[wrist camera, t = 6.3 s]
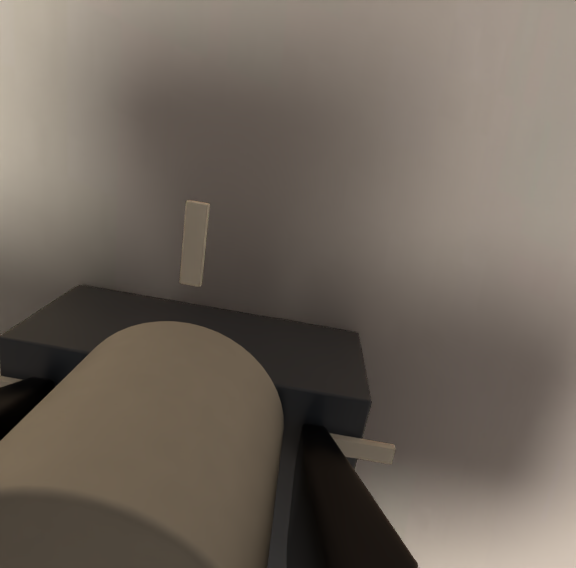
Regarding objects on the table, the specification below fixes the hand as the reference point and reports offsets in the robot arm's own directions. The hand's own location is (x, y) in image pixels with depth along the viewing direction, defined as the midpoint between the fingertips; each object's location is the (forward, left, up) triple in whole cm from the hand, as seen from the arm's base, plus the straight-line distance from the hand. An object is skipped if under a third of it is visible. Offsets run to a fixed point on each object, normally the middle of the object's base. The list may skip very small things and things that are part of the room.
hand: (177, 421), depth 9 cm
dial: (0, 0, 0) cm, 0 cm away
